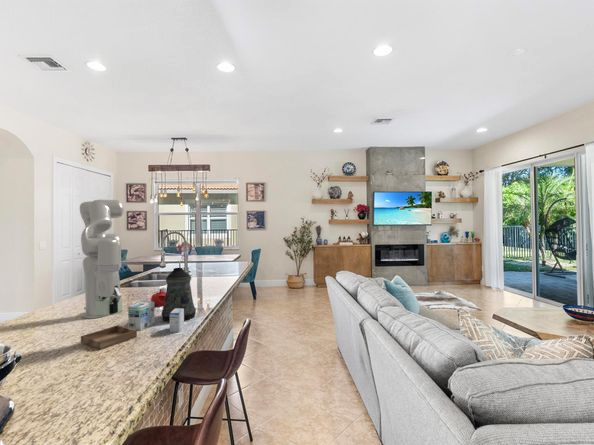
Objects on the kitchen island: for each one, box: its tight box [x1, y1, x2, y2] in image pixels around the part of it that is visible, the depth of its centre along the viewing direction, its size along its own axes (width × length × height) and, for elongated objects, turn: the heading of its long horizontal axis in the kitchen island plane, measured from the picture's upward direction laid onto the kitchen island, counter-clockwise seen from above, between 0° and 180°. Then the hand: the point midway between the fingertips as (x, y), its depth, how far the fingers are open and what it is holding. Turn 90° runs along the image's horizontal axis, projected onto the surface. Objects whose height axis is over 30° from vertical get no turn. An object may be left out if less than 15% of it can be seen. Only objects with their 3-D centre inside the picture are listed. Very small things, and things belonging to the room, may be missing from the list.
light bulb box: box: [127, 300, 155, 331], centre depth 157 cm, size 11×7×11 cm, turn 168°
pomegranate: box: [150, 288, 166, 307], centre depth 196 cm, size 10×10×9 cm
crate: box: [80, 324, 138, 351], centre depth 140 cm, size 14×16×3 cm
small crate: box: [95, 297, 123, 318], centre depth 139 cm, size 6×8×6 cm
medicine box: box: [169, 308, 185, 333], centre depth 153 cm, size 8×4×9 cm, turn 5°
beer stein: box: [161, 267, 197, 323], centre depth 171 cm, size 16×19×25 cm
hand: (109, 311), depth 139 cm, fingers closed on small crate, 5 cm apart
